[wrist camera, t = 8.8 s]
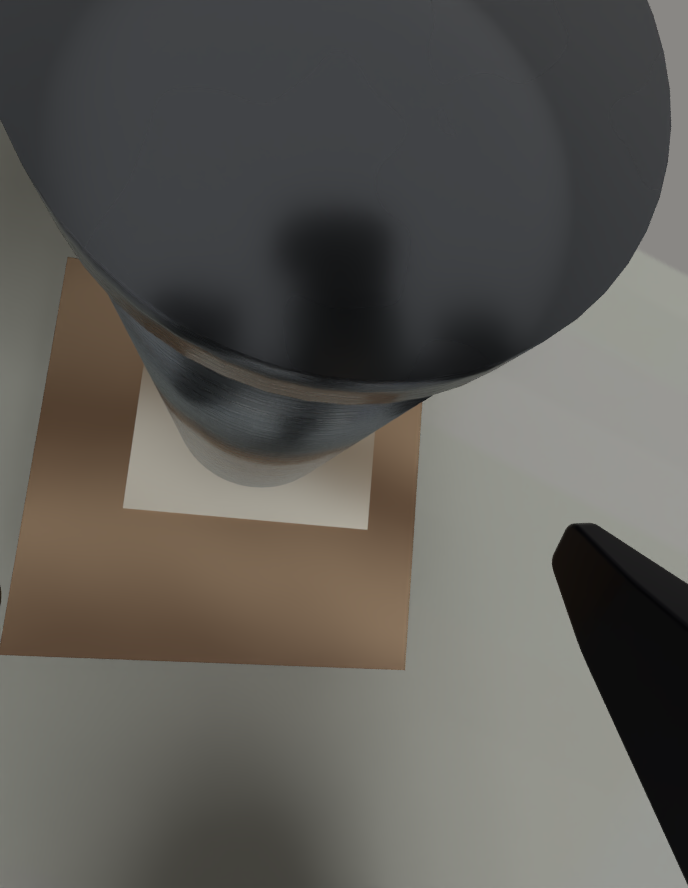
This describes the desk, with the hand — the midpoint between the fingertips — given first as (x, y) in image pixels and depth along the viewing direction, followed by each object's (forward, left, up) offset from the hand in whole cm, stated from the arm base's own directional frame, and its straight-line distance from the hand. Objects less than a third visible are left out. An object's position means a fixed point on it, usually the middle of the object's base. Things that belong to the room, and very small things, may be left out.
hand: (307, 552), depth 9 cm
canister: (+4, +1, -8) cm, 9 cm away
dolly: (+2, +1, -11) cm, 11 cm away
